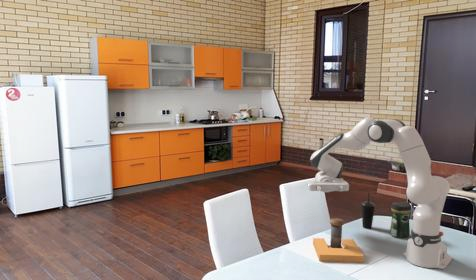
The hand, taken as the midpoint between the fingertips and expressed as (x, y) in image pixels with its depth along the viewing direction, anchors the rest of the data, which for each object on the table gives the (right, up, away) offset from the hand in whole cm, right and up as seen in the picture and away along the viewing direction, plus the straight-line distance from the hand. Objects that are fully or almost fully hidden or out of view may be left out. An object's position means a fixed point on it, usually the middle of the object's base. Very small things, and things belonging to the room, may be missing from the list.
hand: (331, 189), depth 194 cm
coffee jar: (+40, -27, +15) cm, 51 cm away
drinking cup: (+27, -25, +27) cm, 46 cm away
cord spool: (+1, -29, -4) cm, 29 cm away
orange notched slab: (+1, -29, -7) cm, 30 cm away
